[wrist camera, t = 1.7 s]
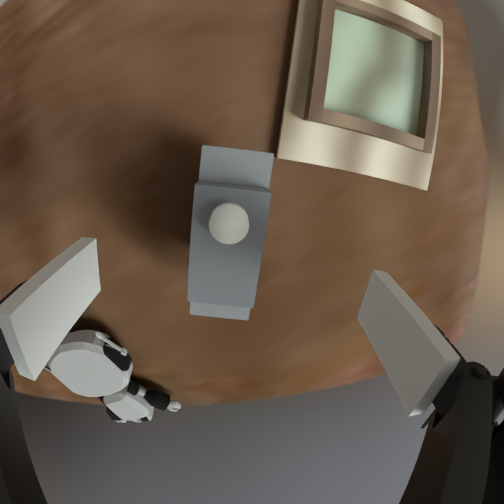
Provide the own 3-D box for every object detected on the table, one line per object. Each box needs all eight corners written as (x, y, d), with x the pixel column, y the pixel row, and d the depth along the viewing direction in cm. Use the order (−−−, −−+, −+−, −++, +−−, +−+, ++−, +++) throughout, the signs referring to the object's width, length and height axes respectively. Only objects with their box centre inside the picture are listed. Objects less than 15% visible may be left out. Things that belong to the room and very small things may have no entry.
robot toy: (189, 389, 32) (105, 303, 26) (187, 419, 28) (90, 333, 22) (122, 408, 34) (45, 338, 28) (116, 433, 30) (30, 363, 24)
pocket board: (276, 157, 22) (280, 159, 20) (302, -29, 15) (308, -42, 13) (422, 188, 23) (436, 194, 21) (437, 22, 17) (451, 17, 14)
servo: (200, 272, 25) (184, 337, 17) (212, 143, 21) (195, 146, 13) (245, 277, 26) (249, 343, 17) (264, 149, 22) (280, 156, 13)
